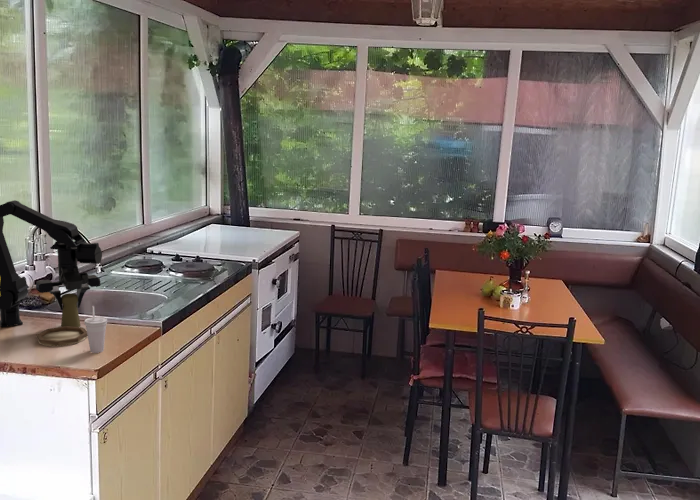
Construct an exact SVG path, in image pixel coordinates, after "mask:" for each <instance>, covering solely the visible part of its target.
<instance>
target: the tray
mask: <svg viewBox="0 0 700 500" xmlns="http://www.w3.org/2000/svg"><path fill="white" fill-rule="evenodd" d="M36 339H37V342H38V343H39V345H42V346H46V347H64V346H70V345H71V346H72V345H76V344H78V343H81V342H83V341H85V340H86V339H88V335H87V330H86V328H84V327H82V326H80V327H72V326H64V327H61V326H58V327H57V326H56V327H52V328H47V329H45V330H42V331H41V332H38V333H37V334H36Z"/></svg>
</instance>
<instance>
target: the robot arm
mask: <svg viewBox="0 0 700 500" xmlns="http://www.w3.org/2000/svg"><path fill="white" fill-rule="evenodd" d="M7 216H13V217H15V218H17V219H19V220H21V221H23V222H26V223H28V224H29V225H31V226H34V227H36V228H38V229H40V230H42V231H44V232H45V233H46V234H47V235H48V236H49V237H50V238H52V239H53V240H54V241H55V242H54V244H52V245H51V246H50V248H49V249H50V250H57V270H58V271H57V272H58V281H51V280H50V279H41V280H37V281H36V282H35V289H36V290H37V291H38V293H40V294H43V293H50V295H53V296H54V298H55V300H56V303H57V305H58V307H59V310H60V311H62V310H63V304H62V300H61V297H62V294H61V293H62V291H61V290H60V288H65V290H66V291H73V290H76V295H77V296H78V302H77V303H76V304H77V309H79V308H80V306H81V303H82V301H83V297H84V296H85V294H86V292H87V291H88V290H91V288H95V287H100V286H101V279H100V278H99V277H98V276H97V275H95V274H89V275H88V272H81V273H80V271H79V266H78V263H79V264H91V265H99V264H100V263H102V260H103V259H102V258H103V252H102V248H101V247H100V244H99V242H86V240H85V238H84V237H83V236H82V235H81V233H80V232H79V229H78V226H77V225H76V224H74V223H71V222H68V221H65V220H61V219H59V220H58V219H54V218H51V217H50V216H47V215H46V214H44V213H41V212H39V211H37V210H35V209H33V208H32V207H29V206H27V205H26V204H23V203H21V202H20V201H18V200H10V201H6V202H5V203H3V204H0V328H6V327H14V326H21V325H23V324H24V323H23V321H22V320H21V317H20V316H21V314H20V304H21V303H23V302H24V299H25V298H27V296H28V294H29V288H30V286H29V285H28V283H27V282H28V281H27V278H26V277H25V276H22V277H21V276H20V275H19V274H18V273H17V271H16V267H15V264H14V262H13V259H12V256H11V253H10V252H11V251H10V250H9V247H8V244H7V240H6V238H5V235H4V224H5V219H4V217H7Z"/></svg>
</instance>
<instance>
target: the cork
mask: <svg viewBox="0 0 700 500" xmlns="http://www.w3.org/2000/svg"><path fill="white" fill-rule="evenodd" d="M61 300H62V310H61V320H60V321H61V322H60V327H64V326H72V327H82V326H81V320H80V315H79V310H78V309H79V308H78V307H77V302H78V296H77V293H74V292H73V293H65V294H63V295H62V294H61Z"/></svg>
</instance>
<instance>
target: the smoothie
mask: <svg viewBox="0 0 700 500" xmlns="http://www.w3.org/2000/svg"><path fill="white" fill-rule="evenodd" d="M91 307H92V316H91V317H88V318H86V319H84V322H83V324H84V325H85V330H86V331H87V335H88V336H87V339H88V344H89V350H90V351H89V352H90V353H91V352H92V353H91V354H100V353H103V352H104V350H105V339H106V329H107V324H108V318H107V317H103V316H96V315H95V314H96V313H95V305H92V306H91ZM99 352H100V353H99Z"/></svg>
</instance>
